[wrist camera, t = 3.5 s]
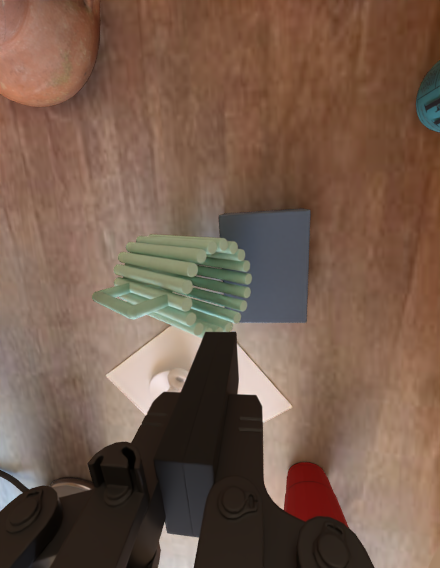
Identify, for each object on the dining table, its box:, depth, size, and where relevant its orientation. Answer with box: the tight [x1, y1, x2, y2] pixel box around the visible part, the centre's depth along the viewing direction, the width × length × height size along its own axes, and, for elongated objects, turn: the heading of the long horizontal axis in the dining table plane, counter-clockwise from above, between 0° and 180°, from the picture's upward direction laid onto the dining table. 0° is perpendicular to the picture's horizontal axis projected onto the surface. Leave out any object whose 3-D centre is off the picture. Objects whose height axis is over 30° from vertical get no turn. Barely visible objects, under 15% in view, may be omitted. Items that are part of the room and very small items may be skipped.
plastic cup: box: [284, 462, 349, 528], centre depth 35 cm, size 11×11×12 cm
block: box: [219, 209, 310, 323], centre depth 30 cm, size 9×12×4 cm
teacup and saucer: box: [148, 367, 189, 402], centre depth 37 cm, size 9×8×4 cm
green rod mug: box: [92, 234, 252, 339], centre depth 26 cm, size 14×9×15 cm, turn 94°
